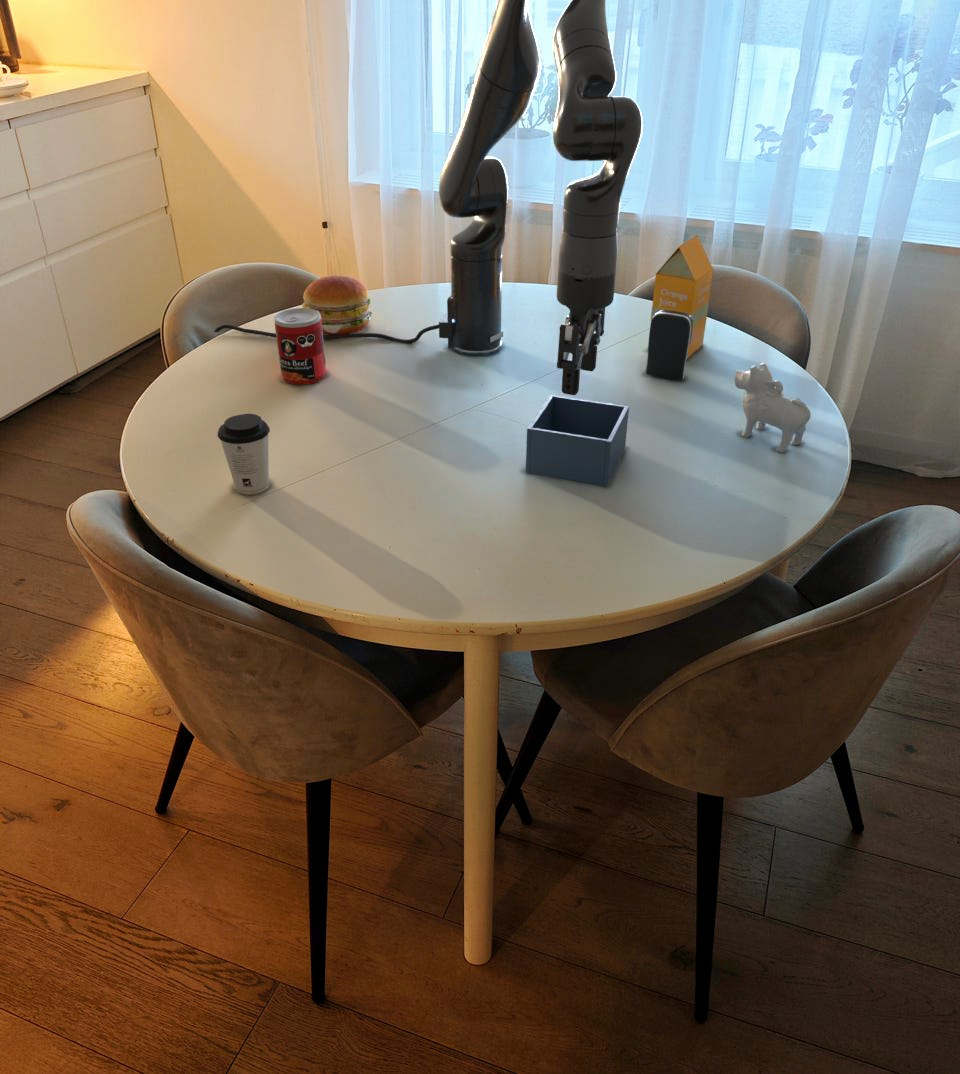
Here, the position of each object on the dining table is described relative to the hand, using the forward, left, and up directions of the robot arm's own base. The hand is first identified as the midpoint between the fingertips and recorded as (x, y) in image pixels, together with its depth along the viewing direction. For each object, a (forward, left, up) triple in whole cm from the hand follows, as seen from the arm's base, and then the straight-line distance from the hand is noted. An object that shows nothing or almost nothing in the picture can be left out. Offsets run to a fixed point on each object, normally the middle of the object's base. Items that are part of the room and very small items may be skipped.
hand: (578, 381), depth 127 cm
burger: (-59, +35, -13) cm, 70 cm away
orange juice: (+5, +49, -13) cm, 51 cm away
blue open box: (0, 0, -9) cm, 9 cm away
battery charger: (+6, +36, -13) cm, 39 cm away
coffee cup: (-40, -24, -13) cm, 48 cm away
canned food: (-53, +12, -13) cm, 56 cm away
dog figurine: (+25, +18, -13) cm, 34 cm away
